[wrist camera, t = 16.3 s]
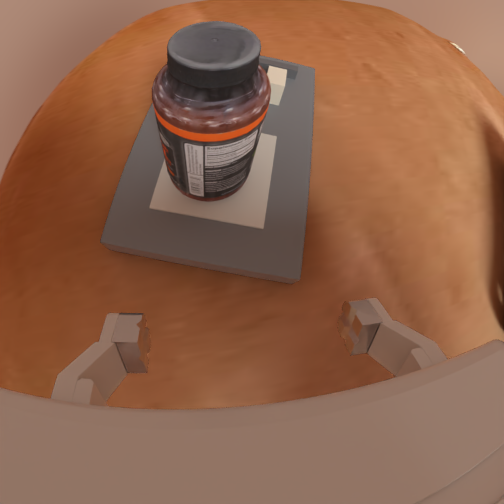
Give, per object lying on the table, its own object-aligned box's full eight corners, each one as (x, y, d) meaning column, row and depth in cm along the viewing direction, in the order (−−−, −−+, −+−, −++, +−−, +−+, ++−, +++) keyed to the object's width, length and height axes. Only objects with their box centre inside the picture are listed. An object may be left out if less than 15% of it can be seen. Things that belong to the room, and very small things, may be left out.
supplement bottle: (163, 143, 21) (143, 19, 10) (239, 131, 22) (263, 9, 11) (174, 213, 19) (144, 93, 8) (258, 197, 20) (305, 77, 10)
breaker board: (292, 284, 21) (312, 272, 17) (108, 249, 20) (86, 230, 16) (309, 81, 27) (321, 51, 23) (183, 58, 26) (183, 27, 22)
